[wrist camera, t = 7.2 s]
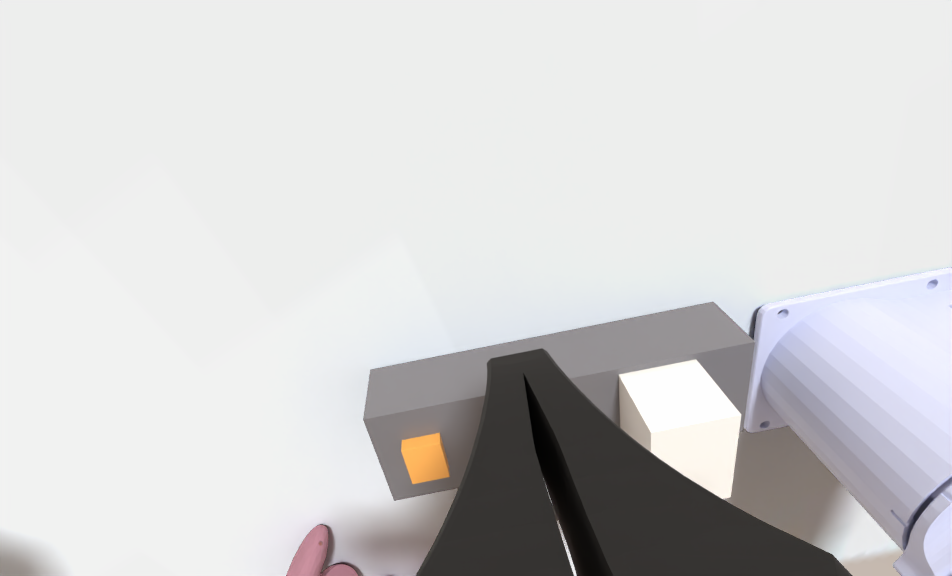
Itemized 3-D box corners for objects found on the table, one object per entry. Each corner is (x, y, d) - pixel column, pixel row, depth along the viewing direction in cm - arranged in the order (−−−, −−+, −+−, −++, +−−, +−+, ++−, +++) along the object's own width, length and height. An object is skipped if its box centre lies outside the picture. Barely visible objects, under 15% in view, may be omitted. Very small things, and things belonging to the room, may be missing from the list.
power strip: (713, 301, 22) (810, 394, 17) (699, 482, 28) (767, 594, 23) (370, 369, 22) (353, 485, 17) (428, 536, 28) (430, 662, 23)
